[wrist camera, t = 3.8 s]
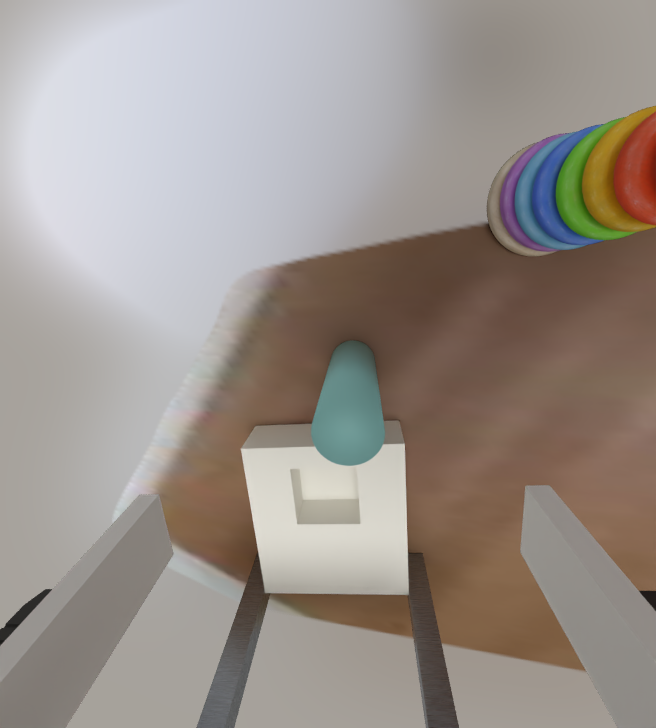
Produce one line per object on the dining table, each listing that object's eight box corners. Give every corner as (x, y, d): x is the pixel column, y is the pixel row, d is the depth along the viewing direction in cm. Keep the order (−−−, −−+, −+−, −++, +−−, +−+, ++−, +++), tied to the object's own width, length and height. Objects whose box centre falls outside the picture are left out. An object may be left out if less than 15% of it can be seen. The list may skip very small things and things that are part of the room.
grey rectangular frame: (252, 527, 39) (107, 891, 17) (422, 525, 37) (516, 935, 15) (260, 571, 41) (137, 957, 18) (422, 572, 39) (508, 1003, 16)
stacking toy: (473, 251, 29) (651, 242, 11) (495, 140, 27) (760, -90, 9) (573, 260, 29) (922, 265, 11) (604, 148, 27) (1109, -77, 9)
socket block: (255, 425, 36) (241, 448, 31) (399, 420, 34) (404, 443, 30) (275, 556, 40) (265, 593, 36) (403, 557, 38) (408, 594, 34)
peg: (329, 341, 32) (307, 400, 19) (373, 338, 32) (383, 397, 19) (332, 383, 34) (314, 466, 20) (375, 381, 33) (386, 464, 20)
